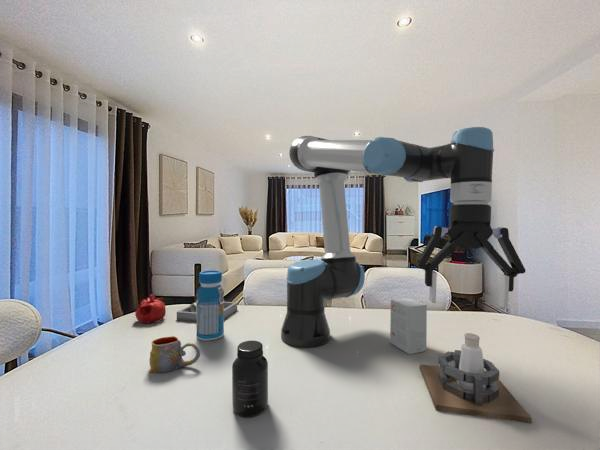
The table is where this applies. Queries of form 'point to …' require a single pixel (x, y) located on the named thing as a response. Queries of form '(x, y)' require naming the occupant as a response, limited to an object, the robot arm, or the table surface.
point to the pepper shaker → (471, 359)
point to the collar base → (448, 402)
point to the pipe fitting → (193, 307)
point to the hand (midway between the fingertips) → (466, 304)
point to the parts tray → (192, 316)
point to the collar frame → (468, 379)
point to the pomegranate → (150, 310)
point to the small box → (408, 325)
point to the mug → (169, 354)
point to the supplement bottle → (249, 380)
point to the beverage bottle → (210, 306)
